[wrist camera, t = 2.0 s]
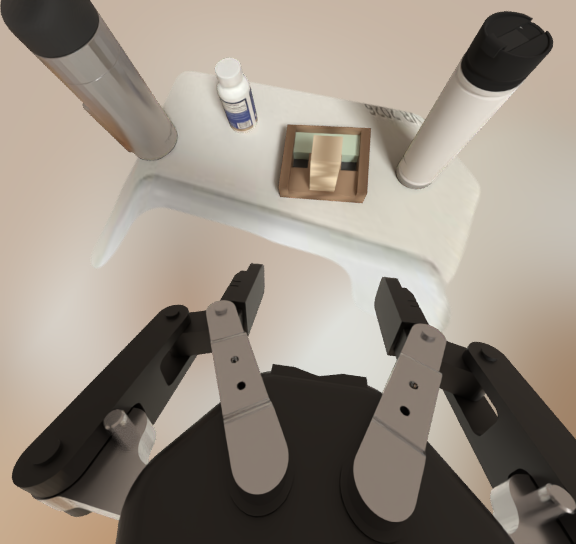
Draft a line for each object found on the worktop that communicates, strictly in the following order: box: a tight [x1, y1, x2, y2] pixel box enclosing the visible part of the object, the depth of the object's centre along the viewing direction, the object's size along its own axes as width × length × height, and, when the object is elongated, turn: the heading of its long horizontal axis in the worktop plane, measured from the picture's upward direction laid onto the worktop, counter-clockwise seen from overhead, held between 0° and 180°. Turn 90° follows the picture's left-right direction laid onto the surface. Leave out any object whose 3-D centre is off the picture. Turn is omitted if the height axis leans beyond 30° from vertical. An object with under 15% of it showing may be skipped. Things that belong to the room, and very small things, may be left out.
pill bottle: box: [215, 58, 258, 133], centre depth 39 cm, size 5×5×10 cm
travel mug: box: [396, 11, 553, 189], centre depth 29 cm, size 6×7×20 cm
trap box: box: [279, 125, 371, 203], centre depth 39 cm, size 14×12×3 cm
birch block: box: [310, 135, 343, 192], centre depth 34 cm, size 4×4×7 cm
